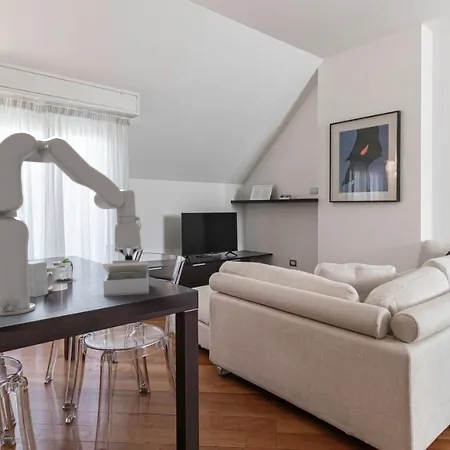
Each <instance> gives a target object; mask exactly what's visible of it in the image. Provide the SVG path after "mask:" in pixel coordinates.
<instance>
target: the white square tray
mask: <svg viewBox="0 0 450 450" xmlns="http://www.w3.org/2000/svg"><path fill="white" fill-rule="evenodd" d="M127 276H130V277H132V279H124V278H125V277H127ZM149 279H150V278H149V270H148V271H141V272H122V273H107V274H106V276H105V278H104V279H103V296H104V297H113V296H115V297H117V296H131V295H132V296H133V295H134V294H135V295H149V294H150V280H149ZM135 295H134V296H135Z"/></svg>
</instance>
